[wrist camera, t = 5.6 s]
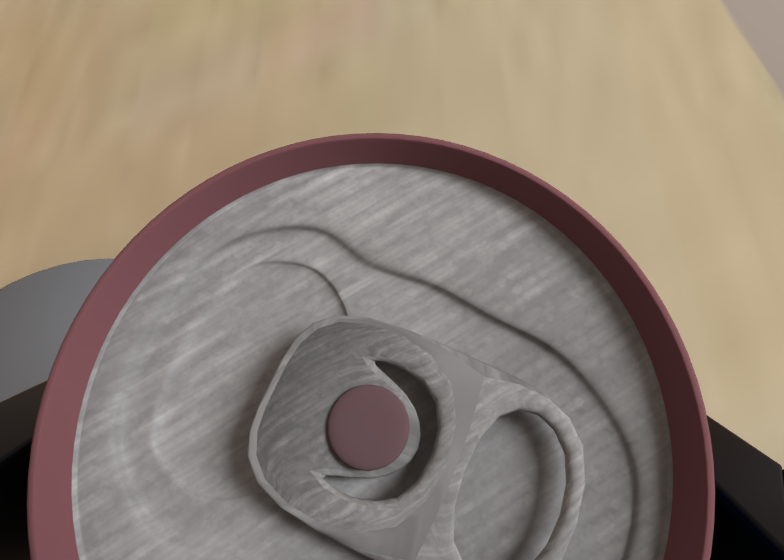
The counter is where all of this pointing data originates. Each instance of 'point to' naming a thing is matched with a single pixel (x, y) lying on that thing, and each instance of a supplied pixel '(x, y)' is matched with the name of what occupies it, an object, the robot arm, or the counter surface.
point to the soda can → (372, 376)
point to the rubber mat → (40, 320)
